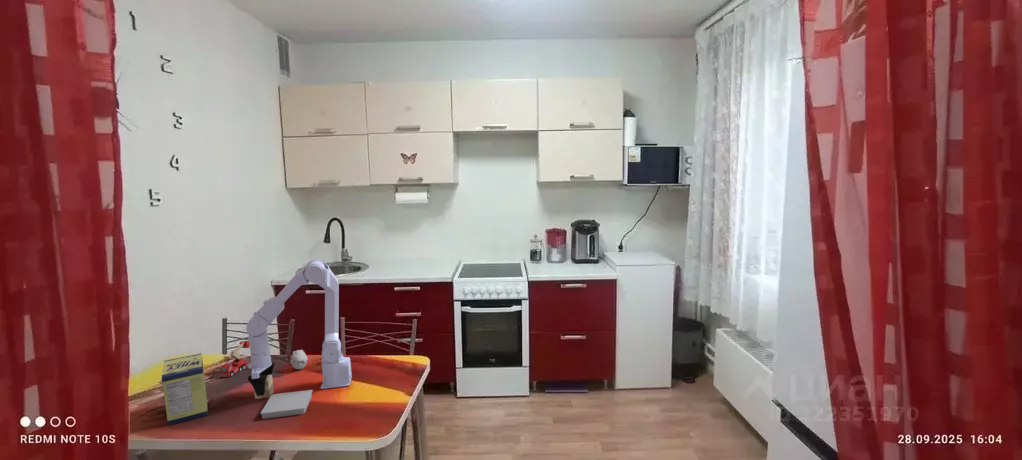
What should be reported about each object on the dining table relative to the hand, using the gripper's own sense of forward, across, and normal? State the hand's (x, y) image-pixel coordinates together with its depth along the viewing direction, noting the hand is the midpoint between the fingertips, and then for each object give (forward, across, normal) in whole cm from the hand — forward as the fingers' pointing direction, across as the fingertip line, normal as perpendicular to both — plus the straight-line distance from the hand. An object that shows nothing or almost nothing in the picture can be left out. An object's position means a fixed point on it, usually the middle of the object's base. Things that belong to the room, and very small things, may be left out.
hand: (264, 390), depth 161 cm
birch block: (+2, 0, 0) cm, 2 cm away
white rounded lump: (+2, -20, +7) cm, 21 cm away
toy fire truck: (+2, -25, -16) cm, 30 cm away
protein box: (+2, +5, -21) cm, 22 cm away
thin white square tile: (+2, +11, +10) cm, 15 cm away
